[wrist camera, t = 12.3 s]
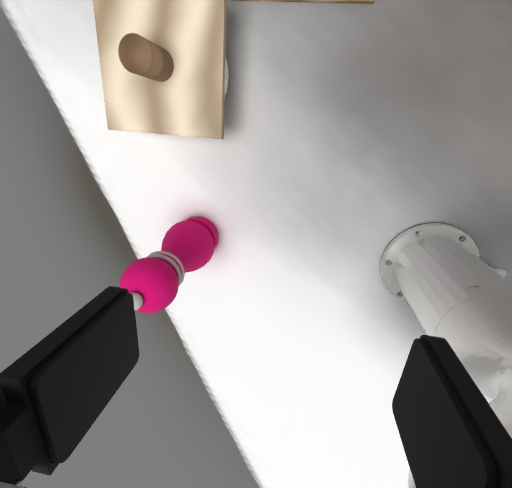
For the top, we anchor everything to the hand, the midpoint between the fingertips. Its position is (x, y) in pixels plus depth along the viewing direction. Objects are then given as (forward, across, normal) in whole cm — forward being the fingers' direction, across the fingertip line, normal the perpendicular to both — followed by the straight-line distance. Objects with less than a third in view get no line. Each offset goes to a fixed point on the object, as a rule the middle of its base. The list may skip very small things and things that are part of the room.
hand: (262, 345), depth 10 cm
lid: (+27, +16, -12) cm, 34 cm away
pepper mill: (+34, +14, +10) cm, 38 cm away
